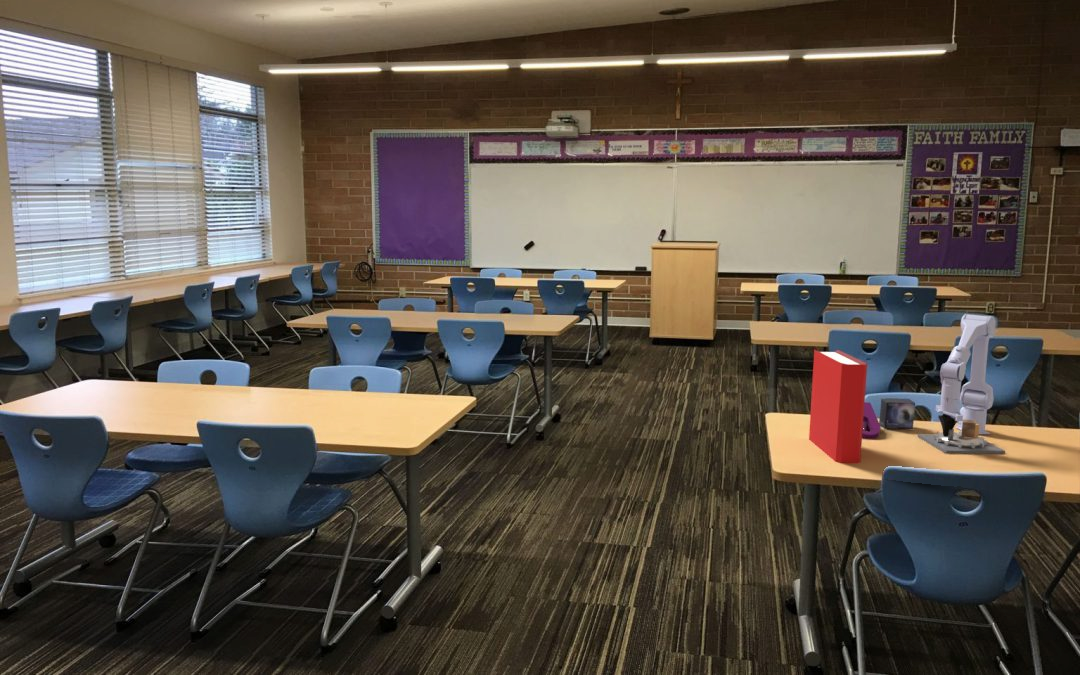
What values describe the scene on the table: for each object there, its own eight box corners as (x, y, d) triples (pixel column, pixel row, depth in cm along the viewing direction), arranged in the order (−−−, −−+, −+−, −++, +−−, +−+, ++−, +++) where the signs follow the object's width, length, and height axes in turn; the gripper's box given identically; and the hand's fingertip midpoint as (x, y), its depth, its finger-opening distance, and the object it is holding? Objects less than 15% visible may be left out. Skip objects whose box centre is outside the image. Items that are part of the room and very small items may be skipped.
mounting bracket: (878, 452, 303) (865, 420, 318) (883, 435, 298) (870, 402, 313) (851, 452, 304) (840, 419, 319) (856, 434, 299) (844, 401, 314)
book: (808, 439, 298) (814, 349, 293) (831, 439, 298) (837, 349, 293) (837, 463, 271) (843, 364, 266) (861, 463, 271) (869, 364, 266)
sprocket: (933, 444, 289) (934, 429, 288) (935, 433, 303) (936, 418, 302) (986, 450, 282) (988, 435, 281) (986, 439, 296) (987, 424, 295)
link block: (961, 436, 294) (962, 421, 293) (961, 433, 297) (962, 419, 297) (974, 437, 292) (975, 423, 291) (974, 434, 296) (975, 420, 295)
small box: (884, 429, 312) (886, 401, 310) (878, 425, 318) (880, 397, 317) (913, 430, 312) (916, 402, 310) (906, 425, 318) (909, 398, 316)
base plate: (917, 437, 302) (918, 420, 301) (972, 437, 303) (974, 420, 302) (945, 453, 282) (947, 436, 281) (1004, 453, 283) (1006, 436, 282)
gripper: (928, 392, 295) (925, 430, 298) (949, 402, 281) (946, 442, 283) (948, 392, 296) (945, 430, 298) (970, 402, 281) (966, 442, 283)
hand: (946, 436), depth 291 cm, fingers closed
